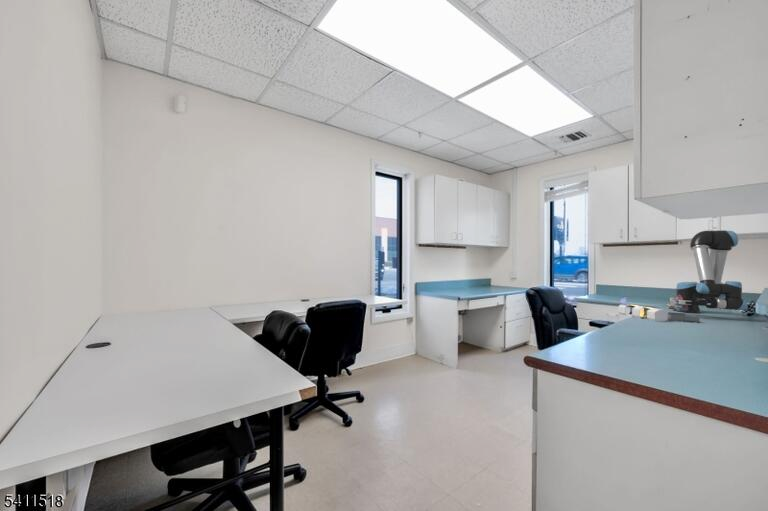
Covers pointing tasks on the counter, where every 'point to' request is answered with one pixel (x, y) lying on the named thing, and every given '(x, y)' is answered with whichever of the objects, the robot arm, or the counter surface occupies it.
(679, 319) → the parts bin
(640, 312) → the segmented white rod
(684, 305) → the brake caliper
